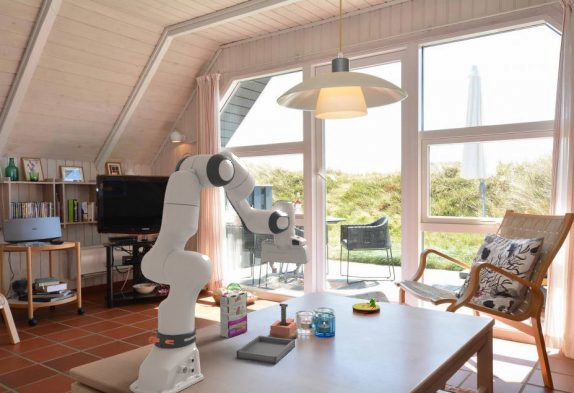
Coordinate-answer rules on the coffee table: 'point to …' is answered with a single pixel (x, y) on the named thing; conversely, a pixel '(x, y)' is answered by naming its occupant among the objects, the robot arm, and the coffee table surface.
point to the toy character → (373, 303)
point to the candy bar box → (233, 314)
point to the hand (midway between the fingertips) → (285, 273)
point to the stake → (283, 323)
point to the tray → (266, 349)
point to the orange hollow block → (284, 327)
